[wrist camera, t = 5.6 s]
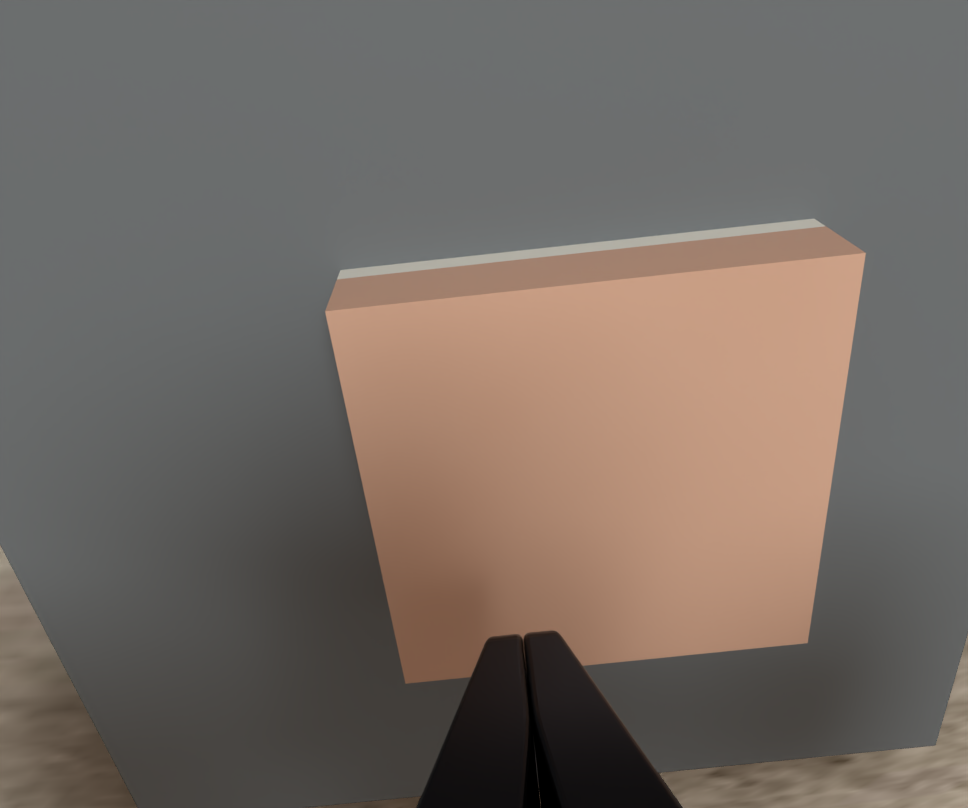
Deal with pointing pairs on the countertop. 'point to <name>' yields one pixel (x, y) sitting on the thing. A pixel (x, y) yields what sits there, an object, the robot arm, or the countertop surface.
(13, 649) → the countertop surface
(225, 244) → the mat
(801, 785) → the countertop surface
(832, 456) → the tile
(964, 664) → the countertop surface
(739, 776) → the countertop surface
